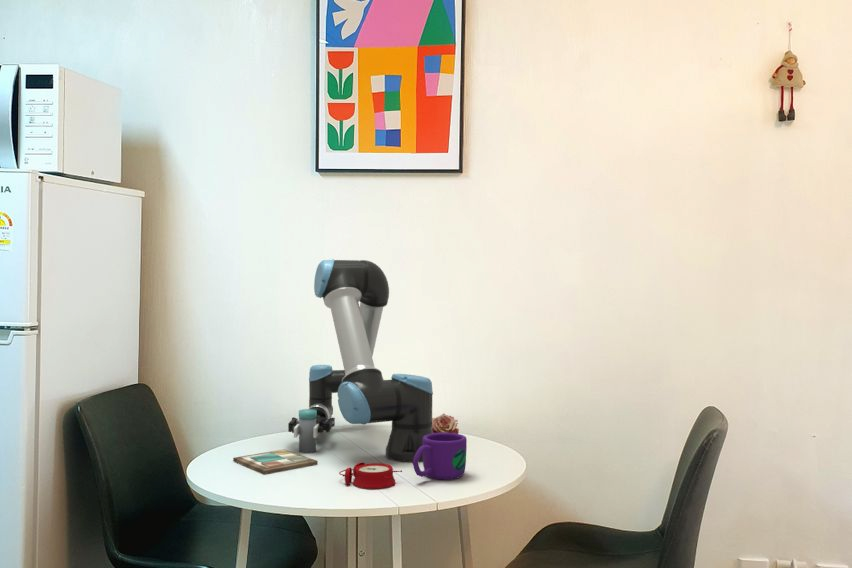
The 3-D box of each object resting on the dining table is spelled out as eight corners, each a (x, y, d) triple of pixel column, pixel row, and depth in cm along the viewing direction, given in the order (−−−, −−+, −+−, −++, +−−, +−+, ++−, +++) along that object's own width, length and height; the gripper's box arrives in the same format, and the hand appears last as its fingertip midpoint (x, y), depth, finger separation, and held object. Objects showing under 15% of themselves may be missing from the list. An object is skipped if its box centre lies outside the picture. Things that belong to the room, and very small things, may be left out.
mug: (442, 467, 190) (442, 430, 190) (475, 475, 182) (475, 436, 182) (397, 480, 177) (397, 440, 177) (431, 489, 169) (431, 447, 169)
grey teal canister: (319, 451, 208) (320, 410, 208) (304, 454, 204) (304, 412, 204) (310, 448, 212) (310, 408, 212) (295, 451, 208) (295, 410, 208)
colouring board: (317, 464, 193) (317, 459, 193) (264, 474, 182) (264, 469, 182) (284, 452, 206) (284, 447, 206) (233, 461, 196) (233, 456, 196)
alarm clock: (387, 477, 167) (334, 457, 173) (382, 502, 168) (329, 481, 174) (406, 467, 177) (355, 448, 183) (401, 490, 177) (350, 471, 183)
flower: (423, 432, 226) (425, 415, 222) (448, 424, 230) (451, 407, 226) (437, 454, 220) (440, 437, 215) (463, 446, 224) (466, 428, 219)
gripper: (344, 429, 226) (336, 445, 203) (288, 429, 226) (273, 446, 203) (344, 406, 226) (336, 419, 203) (288, 406, 226) (273, 419, 203)
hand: (304, 432), depth 203 cm, fingers closed on grey teal canister, 5 cm apart
